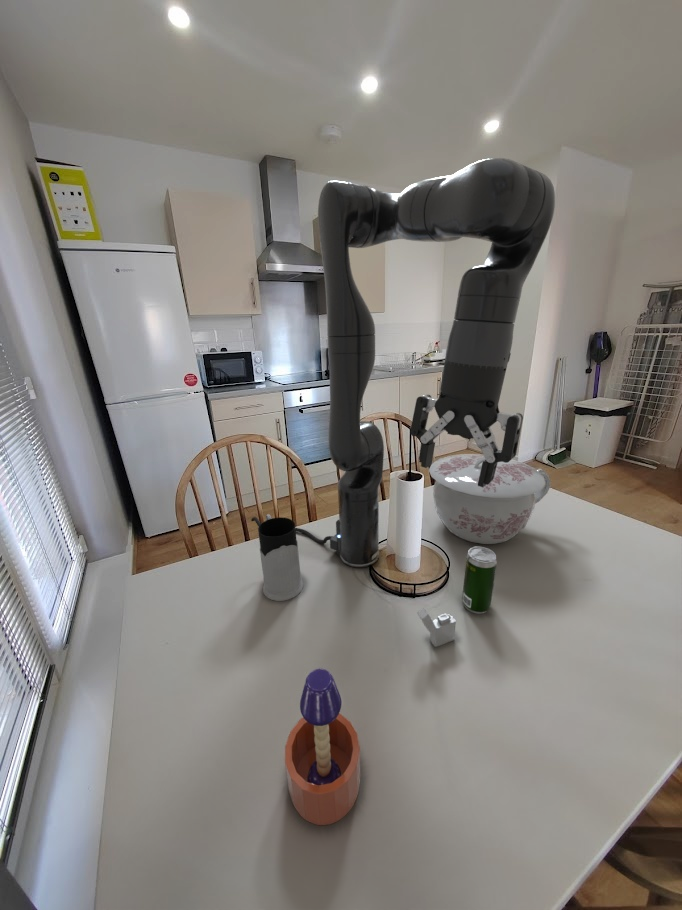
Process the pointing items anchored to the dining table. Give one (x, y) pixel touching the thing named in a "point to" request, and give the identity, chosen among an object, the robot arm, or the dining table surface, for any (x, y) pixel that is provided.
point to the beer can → (479, 579)
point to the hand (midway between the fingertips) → (453, 475)
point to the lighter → (439, 627)
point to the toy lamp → (321, 722)
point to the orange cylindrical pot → (325, 799)
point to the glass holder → (279, 558)
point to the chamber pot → (486, 497)
